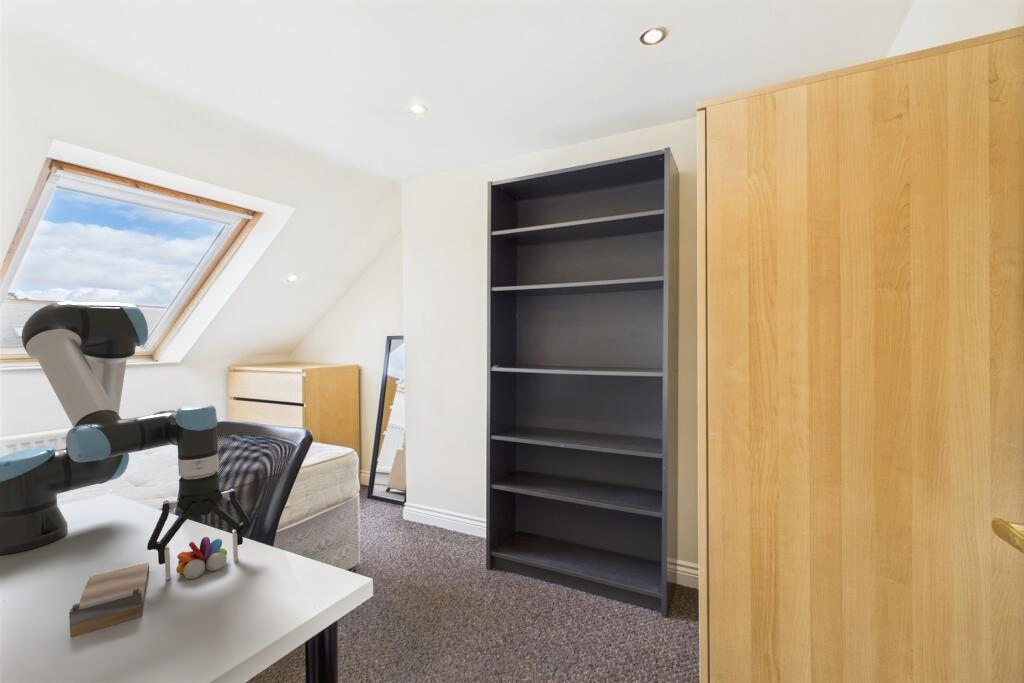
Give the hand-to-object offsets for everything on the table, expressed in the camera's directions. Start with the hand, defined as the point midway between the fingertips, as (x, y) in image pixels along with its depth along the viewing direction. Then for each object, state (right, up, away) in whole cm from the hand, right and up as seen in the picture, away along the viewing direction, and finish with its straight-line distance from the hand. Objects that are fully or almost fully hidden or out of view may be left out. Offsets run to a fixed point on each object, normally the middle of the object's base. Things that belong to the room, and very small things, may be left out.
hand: (203, 567), depth 105 cm
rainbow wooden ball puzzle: (0, -1, 0) cm, 1 cm away
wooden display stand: (-10, -1, -12) cm, 15 cm away
